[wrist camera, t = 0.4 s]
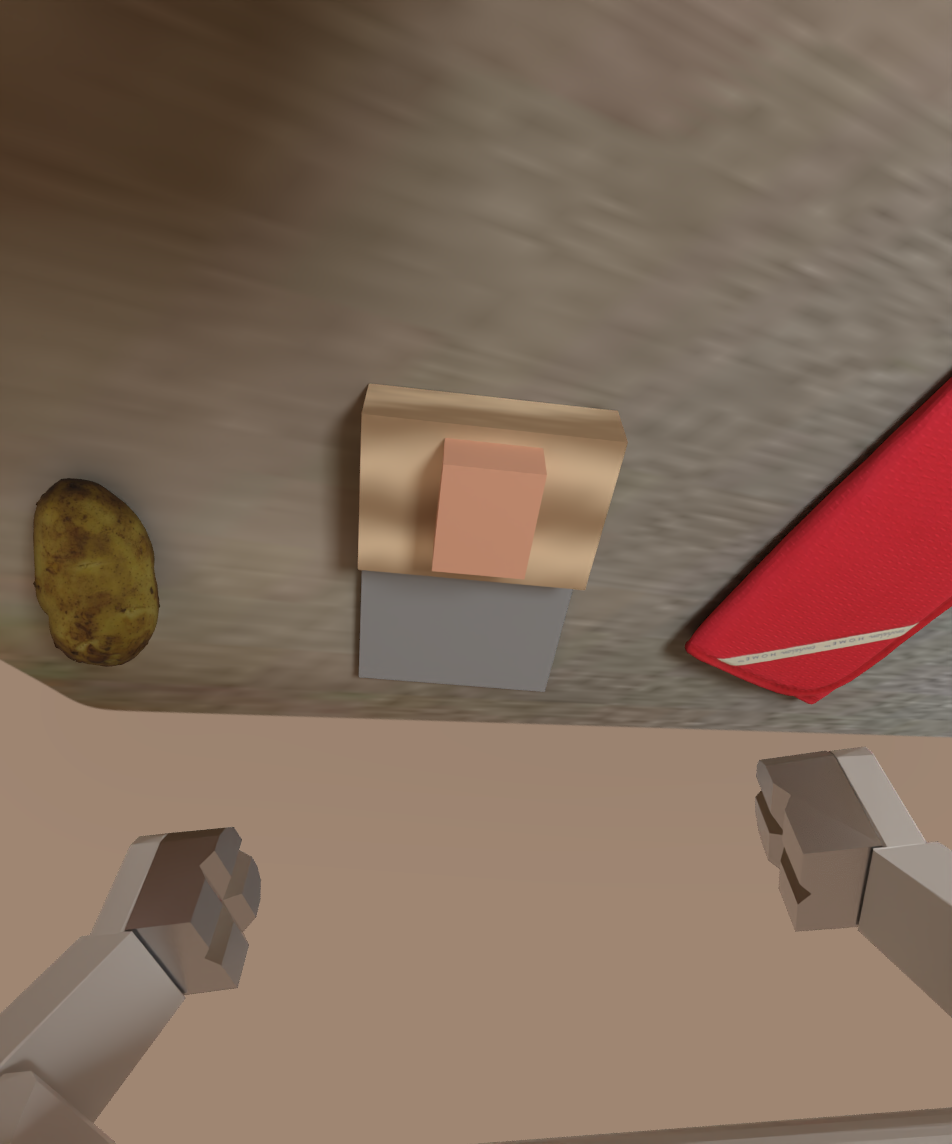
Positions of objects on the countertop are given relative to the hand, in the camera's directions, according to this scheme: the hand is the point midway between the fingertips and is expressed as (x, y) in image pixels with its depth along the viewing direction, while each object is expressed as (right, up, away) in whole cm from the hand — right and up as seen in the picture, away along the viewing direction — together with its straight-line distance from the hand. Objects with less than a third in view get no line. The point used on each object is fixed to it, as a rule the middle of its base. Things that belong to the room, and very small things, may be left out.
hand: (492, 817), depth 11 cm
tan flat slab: (0, +10, +39) cm, 41 cm away
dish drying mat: (+33, +10, +41) cm, 53 cm away
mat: (-1, 0, +48) cm, 48 cm away
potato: (-27, +6, +43) cm, 51 cm away
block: (0, +9, +36) cm, 37 cm away
